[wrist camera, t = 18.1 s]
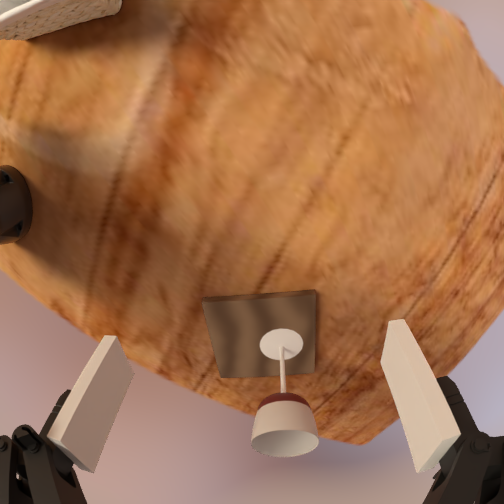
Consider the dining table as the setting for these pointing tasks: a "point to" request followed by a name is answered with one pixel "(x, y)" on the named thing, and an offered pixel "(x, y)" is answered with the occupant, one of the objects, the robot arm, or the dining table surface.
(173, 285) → the dining table surface
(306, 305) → the walnut board
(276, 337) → the wineglass
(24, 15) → the storage basket
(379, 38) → the dining table surface
